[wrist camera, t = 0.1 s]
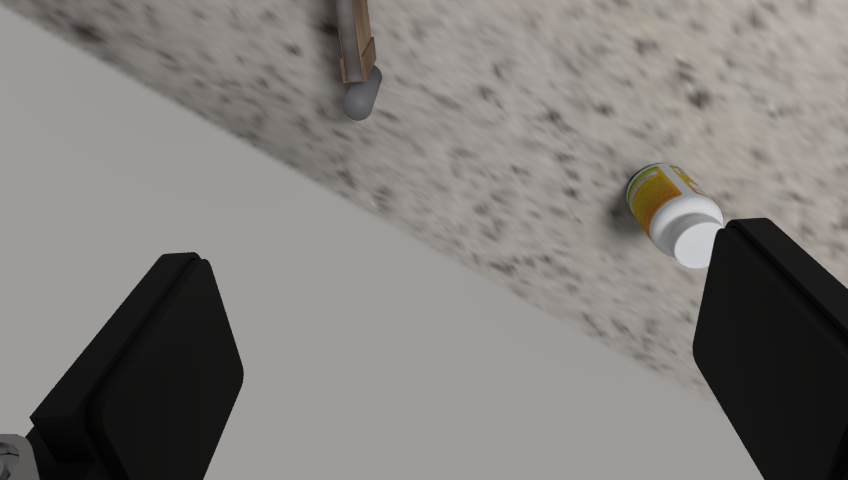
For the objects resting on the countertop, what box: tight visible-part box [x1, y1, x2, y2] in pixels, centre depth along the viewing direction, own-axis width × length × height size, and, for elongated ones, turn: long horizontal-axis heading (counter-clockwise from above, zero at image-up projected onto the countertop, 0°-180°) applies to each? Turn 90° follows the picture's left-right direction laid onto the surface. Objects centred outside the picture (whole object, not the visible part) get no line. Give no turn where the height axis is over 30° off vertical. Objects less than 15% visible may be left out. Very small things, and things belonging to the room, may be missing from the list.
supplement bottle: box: [626, 163, 724, 268], centre depth 45 cm, size 5×5×10 cm
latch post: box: [343, 65, 382, 121], centre depth 41 cm, size 2×2×8 cm
